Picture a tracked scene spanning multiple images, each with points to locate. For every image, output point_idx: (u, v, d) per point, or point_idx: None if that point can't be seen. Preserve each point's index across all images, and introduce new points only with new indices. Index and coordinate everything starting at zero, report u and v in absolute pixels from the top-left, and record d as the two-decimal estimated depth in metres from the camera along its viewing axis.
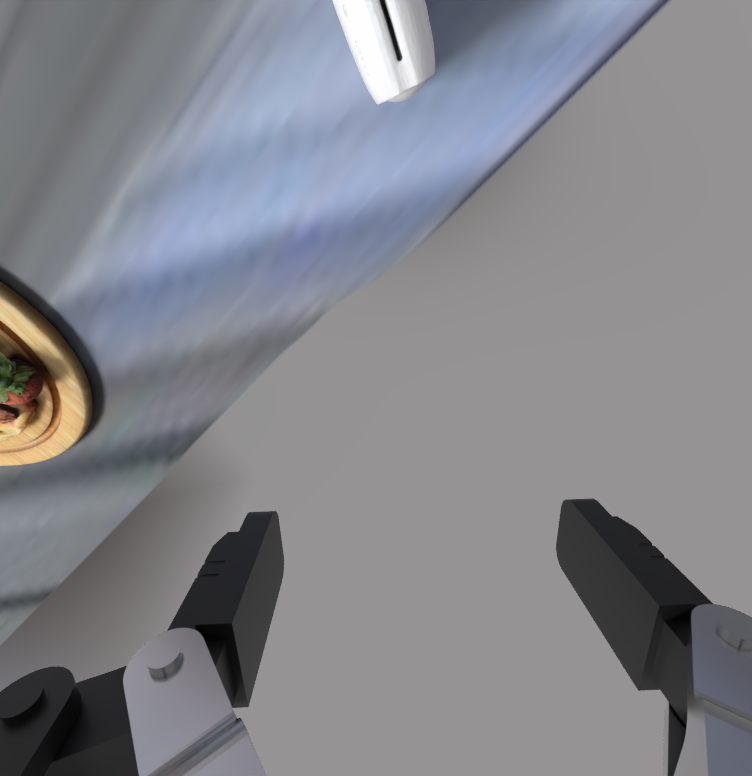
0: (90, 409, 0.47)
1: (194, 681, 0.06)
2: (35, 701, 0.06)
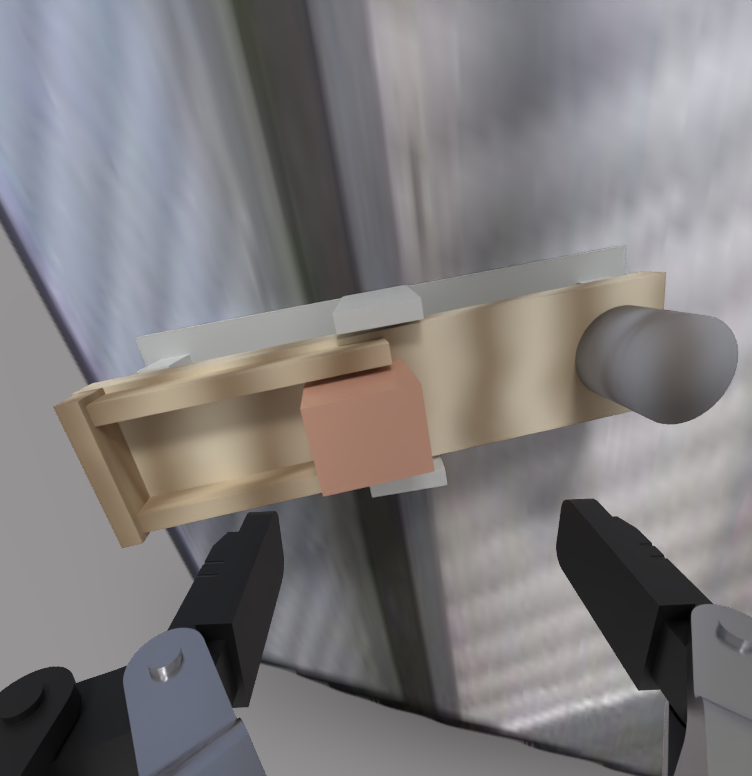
0: None
1: (194, 681, 0.06)
2: (35, 701, 0.06)
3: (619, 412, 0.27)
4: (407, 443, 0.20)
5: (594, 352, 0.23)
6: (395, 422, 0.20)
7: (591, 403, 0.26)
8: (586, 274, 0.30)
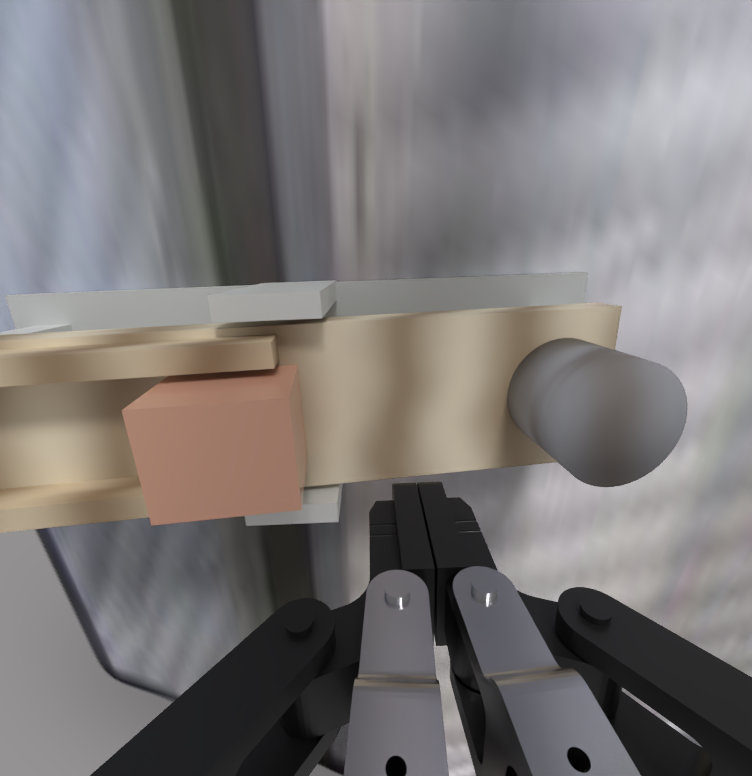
0: None
1: (412, 624, 0.07)
2: (306, 628, 0.07)
3: (553, 460, 0.23)
4: (267, 470, 0.16)
5: (526, 388, 0.20)
6: (253, 442, 0.15)
7: (522, 446, 0.23)
8: (541, 298, 0.26)
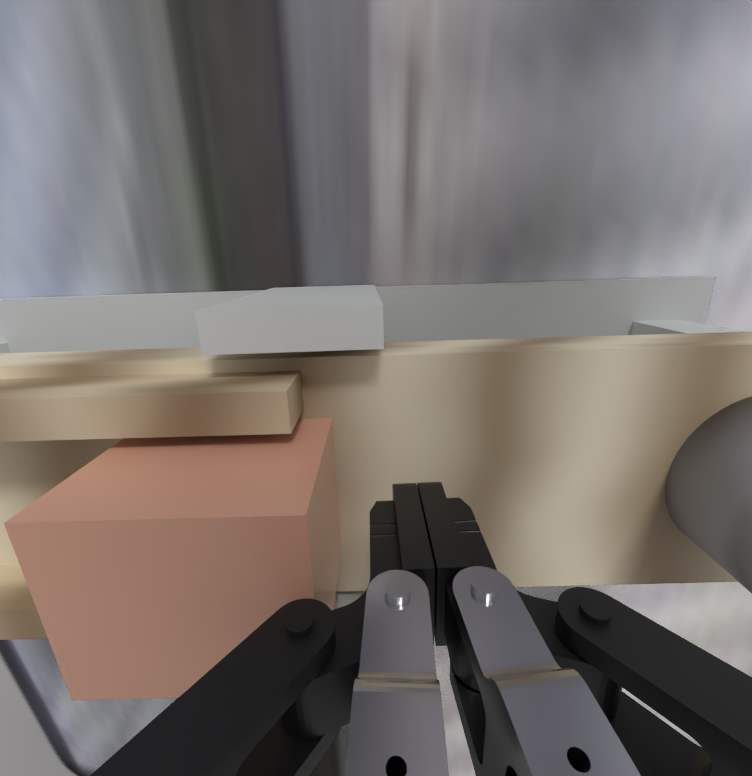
0: None
1: (412, 624, 0.07)
2: (306, 628, 0.07)
3: (728, 579, 0.14)
4: None
5: (720, 479, 0.11)
6: (239, 586, 0.08)
7: (679, 555, 0.14)
8: (650, 311, 0.19)
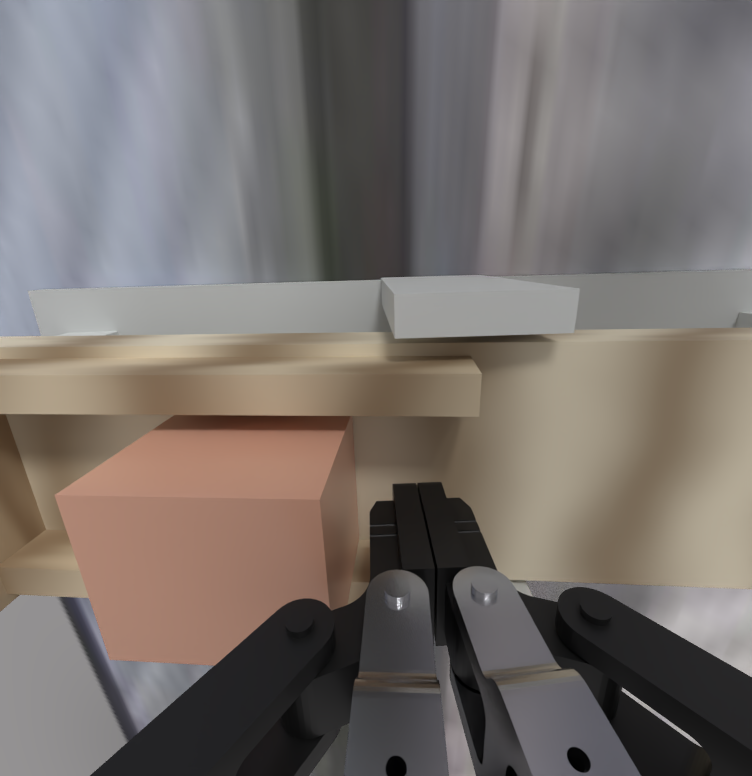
0: None
1: (412, 624, 0.07)
2: (306, 628, 0.07)
3: None
4: None
5: None
6: (258, 564, 0.09)
7: None
8: None
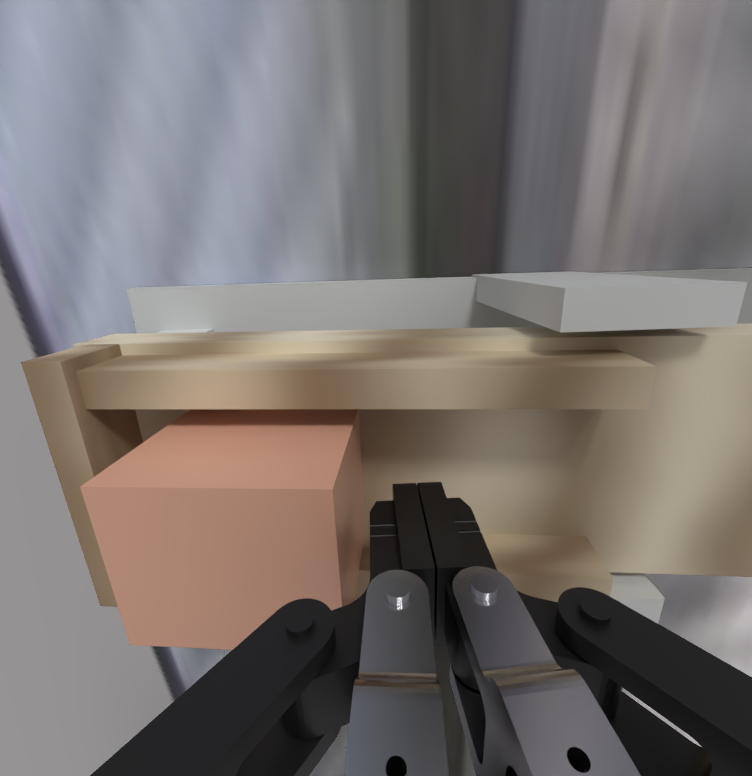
0: None
1: (412, 624, 0.07)
2: (306, 628, 0.07)
3: None
4: (294, 593, 0.10)
5: None
6: (273, 551, 0.09)
7: None
8: None
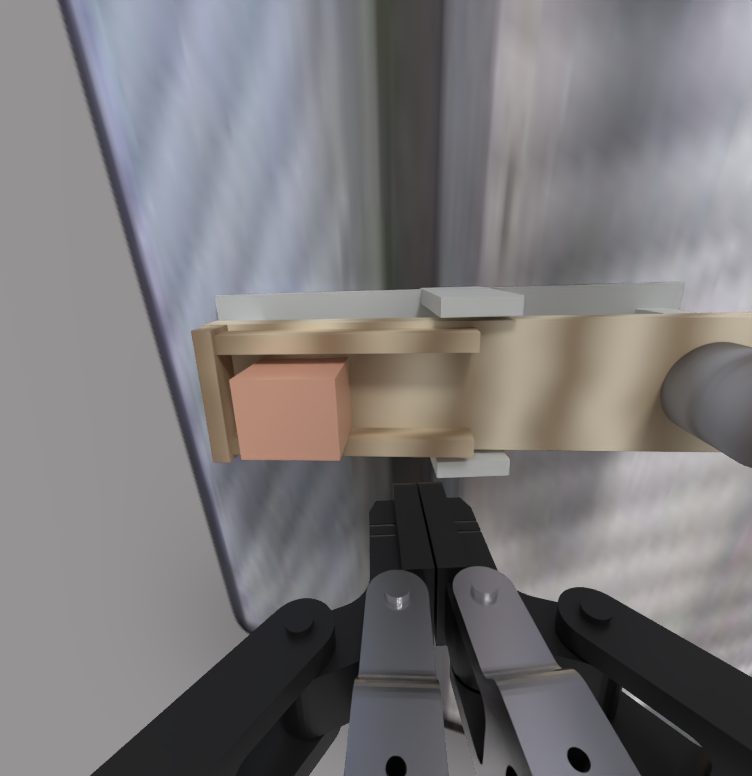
0: None
1: (412, 624, 0.07)
2: (306, 628, 0.07)
3: (698, 450, 0.26)
4: (317, 429, 0.22)
5: (684, 381, 0.23)
6: (309, 408, 0.22)
7: (669, 434, 0.26)
8: (645, 303, 0.32)
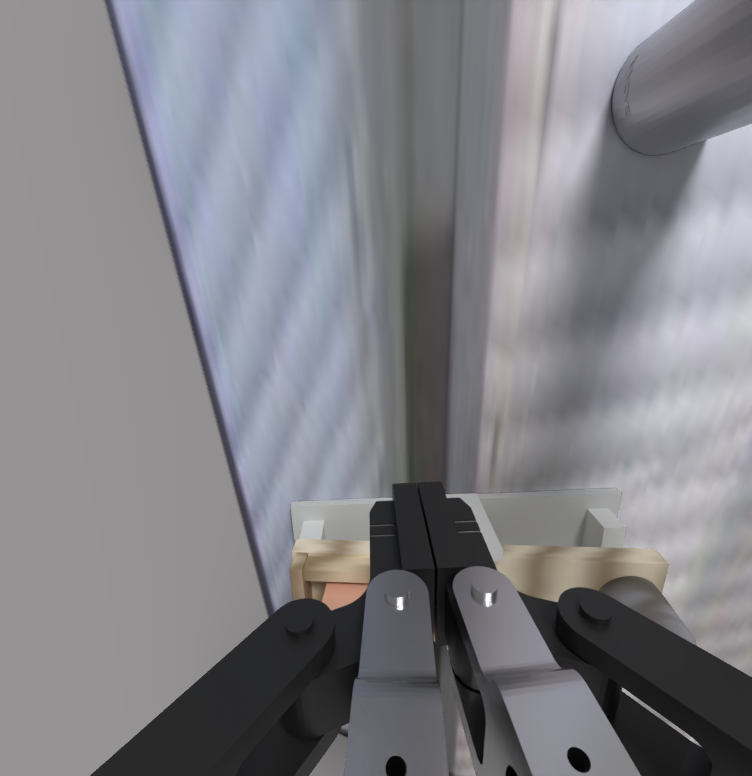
0: None
1: (412, 624, 0.07)
2: (306, 628, 0.07)
3: None
4: None
5: None
6: None
7: None
8: (594, 505, 0.45)
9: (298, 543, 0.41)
